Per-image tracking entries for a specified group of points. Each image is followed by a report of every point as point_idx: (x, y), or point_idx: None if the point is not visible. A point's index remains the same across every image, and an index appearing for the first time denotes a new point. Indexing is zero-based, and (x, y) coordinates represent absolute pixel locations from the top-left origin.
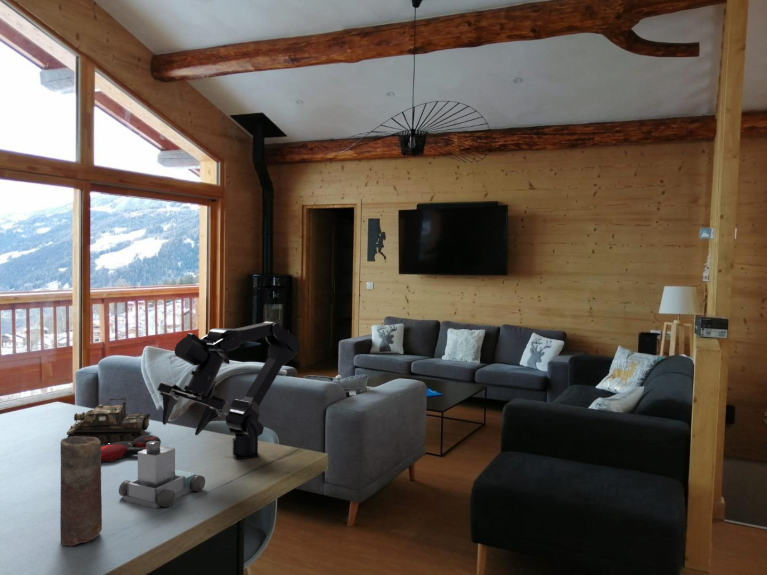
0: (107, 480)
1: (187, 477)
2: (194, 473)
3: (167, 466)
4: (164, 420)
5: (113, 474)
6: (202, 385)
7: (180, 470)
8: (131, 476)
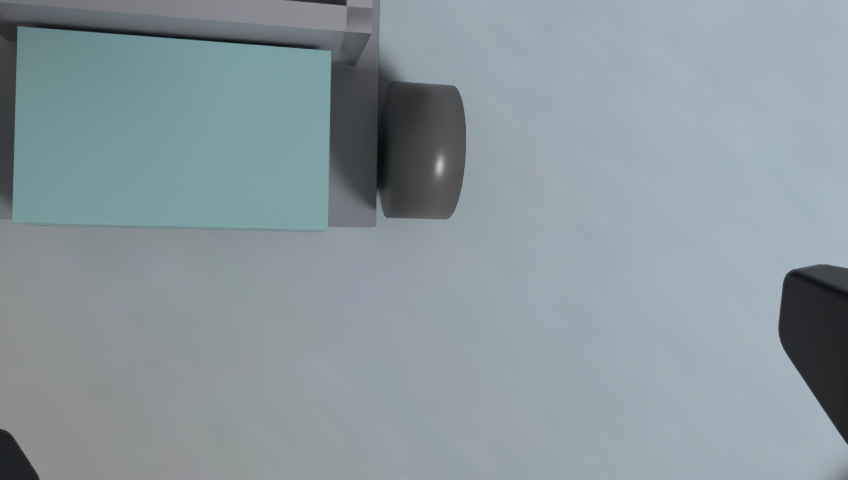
0: (772, 28)
1: (17, 96)
2: (32, 221)
3: None
4: (841, 283)
5: (824, 138)
6: None
7: (240, 227)
8: (688, 162)
